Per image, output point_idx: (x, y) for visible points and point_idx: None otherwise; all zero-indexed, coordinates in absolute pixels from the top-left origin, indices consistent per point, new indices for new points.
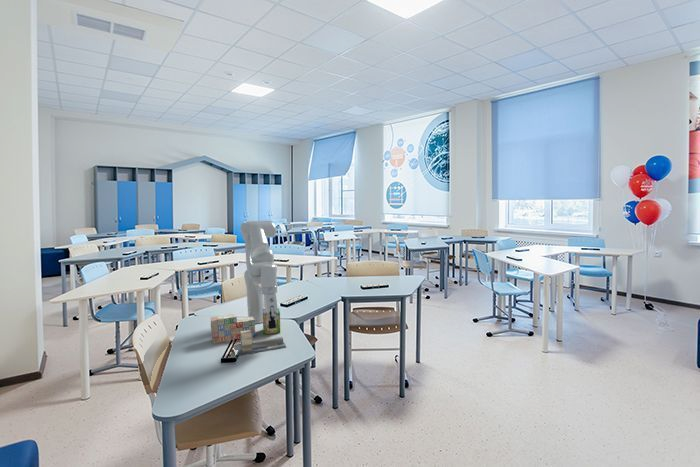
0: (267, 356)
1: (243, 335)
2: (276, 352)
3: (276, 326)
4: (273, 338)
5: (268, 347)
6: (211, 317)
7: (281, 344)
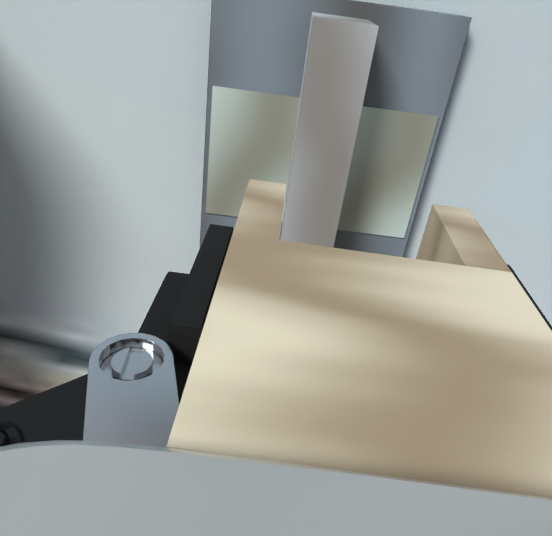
0: (538, 276)
1: None
2: (519, 173)
3: (489, 243)
4: (299, 157)
5: (381, 226)
6: None
7: (392, 58)
